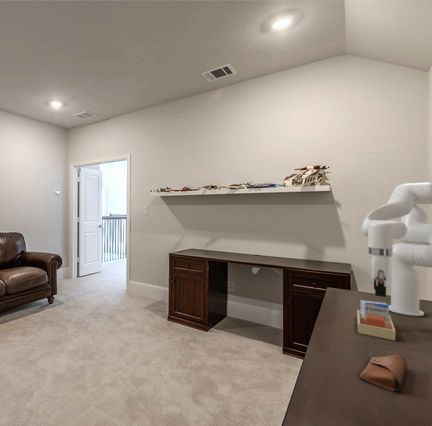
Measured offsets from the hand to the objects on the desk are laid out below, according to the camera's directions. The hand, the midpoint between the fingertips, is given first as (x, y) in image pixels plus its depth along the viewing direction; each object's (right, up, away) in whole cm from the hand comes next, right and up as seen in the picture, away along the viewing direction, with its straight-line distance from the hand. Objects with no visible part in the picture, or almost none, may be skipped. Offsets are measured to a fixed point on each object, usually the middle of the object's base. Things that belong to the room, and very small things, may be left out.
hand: (379, 293), depth 123 cm
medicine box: (-3, -12, -1) cm, 13 cm away
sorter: (-6, -13, -5) cm, 15 cm away
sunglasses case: (-33, -13, -38) cm, 52 cm away
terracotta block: (-10, -12, -9) cm, 18 cm away
